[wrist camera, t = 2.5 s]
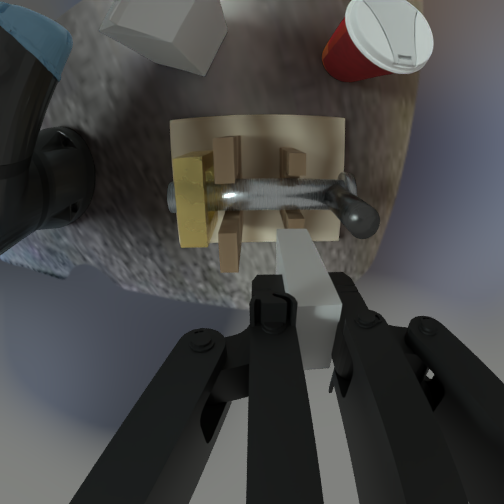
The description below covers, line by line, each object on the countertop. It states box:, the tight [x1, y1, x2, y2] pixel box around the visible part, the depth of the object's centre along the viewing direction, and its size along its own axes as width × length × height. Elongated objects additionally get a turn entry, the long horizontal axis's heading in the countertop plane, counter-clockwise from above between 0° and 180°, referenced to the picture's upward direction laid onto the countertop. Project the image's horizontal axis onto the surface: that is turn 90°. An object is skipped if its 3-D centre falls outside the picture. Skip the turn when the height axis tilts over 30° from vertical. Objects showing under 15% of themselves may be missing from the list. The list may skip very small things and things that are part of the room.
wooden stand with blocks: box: [170, 114, 345, 273], centre depth 28 cm, size 21×16×14 cm
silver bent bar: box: [167, 172, 380, 239], centre depth 23 cm, size 17×4×11 cm, turn 91°
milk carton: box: [99, 0, 228, 76], centre depth 18 cm, size 7×7×19 cm
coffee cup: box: [322, 0, 433, 82], centre depth 21 cm, size 8×8×15 cm
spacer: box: [172, 150, 218, 248], centre depth 27 cm, size 2×8×8 cm, turn 1°
